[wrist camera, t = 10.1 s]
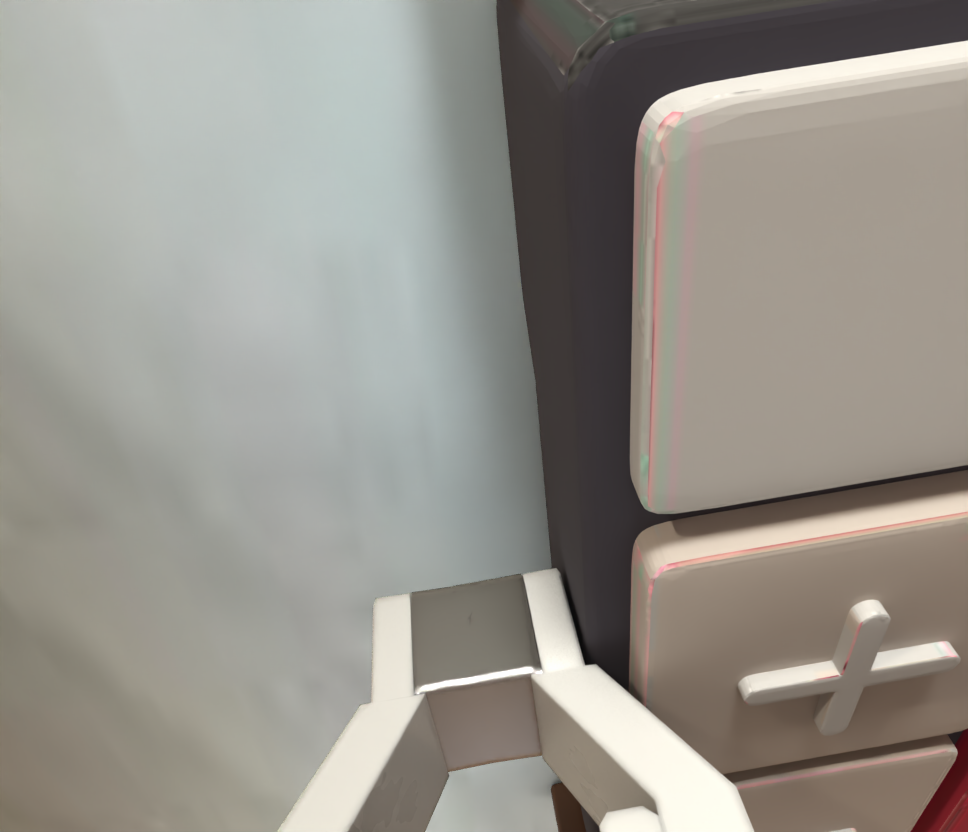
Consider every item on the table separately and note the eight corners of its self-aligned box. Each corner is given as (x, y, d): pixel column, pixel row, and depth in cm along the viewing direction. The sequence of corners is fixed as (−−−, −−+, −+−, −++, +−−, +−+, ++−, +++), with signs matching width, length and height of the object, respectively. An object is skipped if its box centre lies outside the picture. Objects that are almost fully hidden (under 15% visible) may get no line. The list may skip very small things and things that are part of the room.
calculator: (608, 946, 13) (589, 49, 4) (560, 722, 16) (488, -47, 7) (1189, 840, 13) (2571, -260, 4) (1026, 640, 17) (1557, -209, 7)
